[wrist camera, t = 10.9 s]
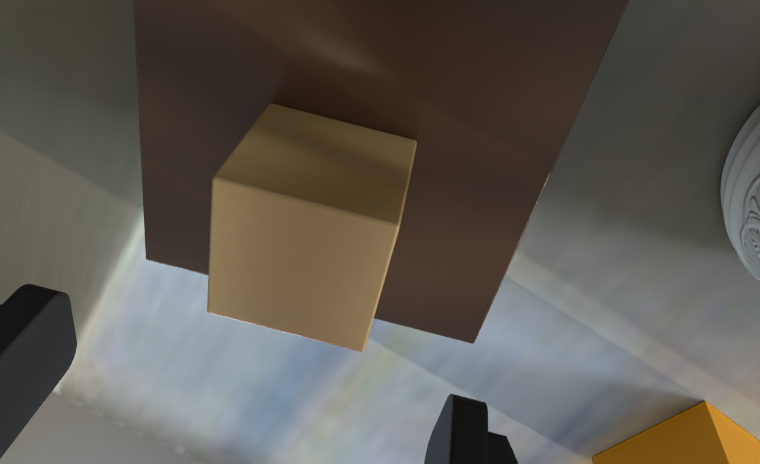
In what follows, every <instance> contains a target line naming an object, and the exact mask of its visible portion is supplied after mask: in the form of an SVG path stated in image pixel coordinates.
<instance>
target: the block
mask: <svg viewBox="0 0 760 464" xmlns="http://www.w3.org/2000/svg"><path fill="white" fill-rule="evenodd" d="M416 146H417V142H416V141H415V140H412V139H408V138H404V137H401V136H397V135H393V134H389V133H385V132H381V131H377V130H373V129H370V128H366V127H362V126H358V125H354V124H350V123H346V122H343V121H339V120H335V119H331V118H327V117H323V116H319V115H315V114H312V113H308V112H304V111H300V110H296V109H292V108H288V107H285V106H281V105H277V104H273V103H270V104H269V105H268V106H267V107H266V109H265V110H264V111H263V112H262V114H261V115H260V116H259V118H258V119H257V120H256V122H255V123H254V124H253V126H252V127H251V128H250V129H249V131H248V132H247V133H246V135H245V136H244V137H243V139H242V140H241V141H240V143H239V144H238V145H237V146H236V148H235V149H234V150H233V152H232V153H231V154H230V156H229V157H228V158H227V159H226V161H225V162H224V163H223V165H222V166H221V167H220V169H219V170H218V171H217V173H216V174H215V175H214V176H213V178H212V198H211V224H210V251H209V278H208V304H207V311H208V313H211V314H215V315H219V316H223V317H226V318H230V319H234V320H238V321H242V322H246V323H250V324H254V325H258V326H261V327H265V328H269V329H273V330H277V331H281V332H285V333H289V334H293V335H297V336H300V337H304V338H308V339H312V340H316V341H320V342H324V343H328V344H332V345H336V346H339V347H343V348H347V349H351V350H355V351H359V352H363V351H364V350H365V347H366V344H367V340H368V337H369V333H370V330H371V326H372V323H373V319H374V316H375V312H376V309H377V305H378V302H379V298H380V295H381V291H382V288H383V284H384V281H385V277H386V274H387V270H388V267H389V263H390V260H391V256H392V253H393V249H394V246H395V242H396V239H397V235H398V232H399V228H400V224H401V219H402V214H403V209H404V204H405V199H406V194H407V190H408V185H409V180H410V175H411V170H412V165H413V160H414V155H415V151H416Z"/></svg>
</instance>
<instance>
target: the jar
mask: <svg viewBox="0 0 760 464" xmlns="http://www.w3.org/2000/svg"><path fill="white" fill-rule="evenodd" d="M721 205H722V209H723V214H724V222H725V226H726V230H727V233H728V236H729V239H730V241H731V243H732V245H733V247H734V249H735V250H736V252H737V254H738V256H739V258H740V259H741V261H742V263H743V264H744V265H745V267H746V268H747V269H748V270H749V272H750V273H751V274H752V275H753V276H754V277H755V278H756V279H757V280H759V282H760V105H759V106H758V107H757V108H756V109H755V111H754V112H753V113H752V114H751V116H750V117H749V118H748V120H747V121H746V123H745V124H744V125H743V127H742V128H741V130H740V132H739V133H738V135H737V137H736V138H735V140H734V142H733V144H732V146H731V149H730V151H729V153H728V156H727V158H726V162H725V165H724V168H723V173H722V178H721Z"/></svg>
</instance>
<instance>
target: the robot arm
mask: <svg viewBox="0 0 760 464" xmlns="http://www.w3.org/2000/svg"><path fill="white" fill-rule="evenodd" d="M76 347H77V340H76V334H75V328H74V322H73V316H72V310H71V304H70V299H69V296H68V295H67V294H66V293H64V292H60V291H56V290H52V289H48V288H44V287H40V286H36V285H33V284H25V285H23V286H21V287H20V288H19V289H17V290H16V291H15V292H14V293H13V294H12V295H11V296H10V297H9V298H8V299H7V300H6V301H5V302H4V303H3V304H2V305H0V458H1V457H2V456H3V454H4V453H5V452H6V450H7V449H8V448H9V447H10V445H11V444H12V443H13V441H14V440H15V438H16V437H17V436H18V435H19V433H20V432H21V431H22V430H23V428H24V427H25V426H26V424H27V423H28V422H29V420H30V419H31V418H32V416H33V415H34V414H35V412H36V411H37V410H38V409H39V407H40V406H41V405H42V403H43V402H44V401H45V399H46V398H47V397H48V395H49V394H50V393H51V392H52V390H53V389H54V388H55V386H56V385H57V384H58V382H59V381H60V380H61V379H62V377H63V376H64V375H65V373H66V372H67V370H68V369H69V367H70V365H71V363H72V361H73V359H74V356H75V352H76ZM424 464H518V462H517V459H516V457H515V455H514V453H513V450H512V448H511V446H510V443H509V441H508V439H507V436H503V435H499V434H495V433H491V432H488V409H487V404H486V403H485V402H481V401H477V400H473V399H469V398H466V397H462V396H458V395H454V394H450V395H449V396H448V398H447V400H446V402H445V405H444V407H443V409H442V411H441V414H440V416H439V418H438V420H437V423H436V425H435V427H434V429H433V432H432V434H431V437H430V440H429V443H428V447H427V451H426V456H425V463H424Z"/></svg>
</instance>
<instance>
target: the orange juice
mask: <svg viewBox="0 0 760 464" xmlns="http://www.w3.org/2000/svg"><path fill="white" fill-rule="evenodd" d="M592 461H593V464H760V441H759V440H758V439H756V438H755V437H754V436H752V435H751V434H750V433H748V432H747V431H745V430H744V429H743V428H741V427H740V426H739V425H737V424H736V423H735V422H733V421H732V420H730V419H729V418H728V417H726V416H725V415H724V414H722V413H721V412H720V411H718V410H717V409H716V408H714V407H713V406H711V405H710V404H709V403H707V402H706V401H704V402H702V403H700V404H698V405H696V406H694V407H692V408H690V409H688V410H686V411H684V412H682V413H680V414H678V415H676V416H674V417H672V418H670V419H668V420H666V421H664V422H662V423H660V424H658V425H656V426H654V427H652V428H650V429H648V430H646V431H644V432H642V433H640V434H638V435H636V436H634V437H632V438H630V439H628V440H626V441H624V442H622V443H620V444H618V445H616V446H614V447H612V448H610V449H608V450H606V451H604V452H602V453H600V454H598V455H596V456H594V457H592Z"/></svg>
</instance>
